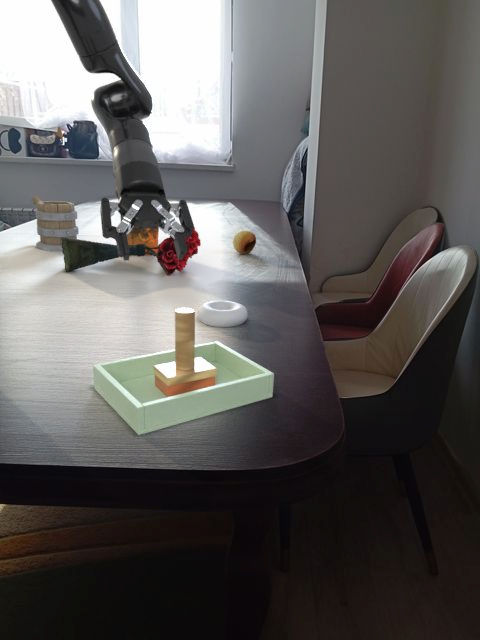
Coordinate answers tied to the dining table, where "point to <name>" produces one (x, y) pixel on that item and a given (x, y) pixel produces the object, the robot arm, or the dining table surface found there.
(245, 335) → the dining table surface
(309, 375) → the dining table surface
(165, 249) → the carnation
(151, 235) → the vessel
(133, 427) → the tray
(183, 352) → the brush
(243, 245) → the fruit
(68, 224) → the tankard
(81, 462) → the dining table surface
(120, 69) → the robot arm
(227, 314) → the donut
